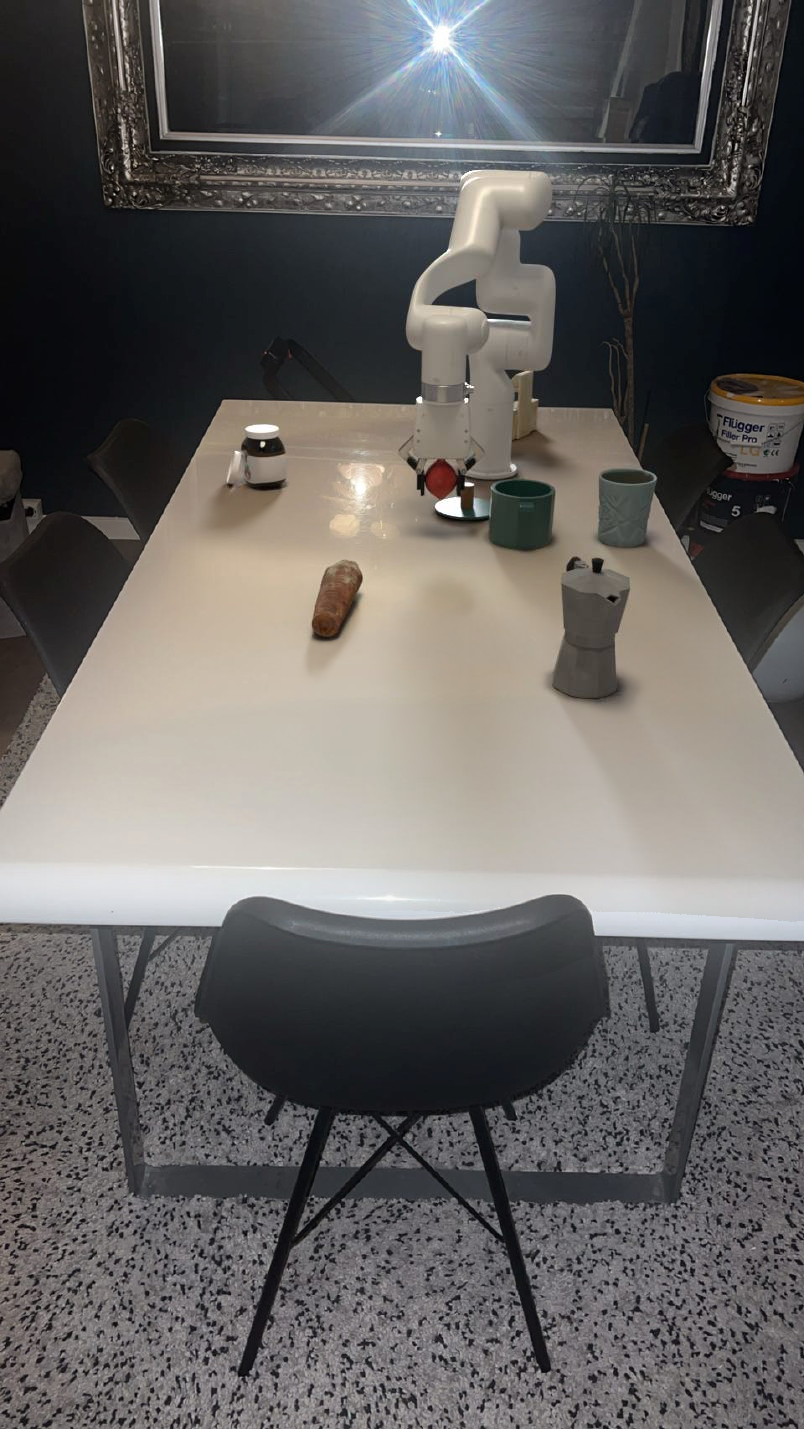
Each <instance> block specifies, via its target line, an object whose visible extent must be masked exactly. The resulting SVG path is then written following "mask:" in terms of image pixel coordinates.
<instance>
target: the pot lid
mask: <svg viewBox="0 0 804 1429" xmlns="http://www.w3.org/2000/svg"><path fill="white" fill-rule="evenodd" d="M434 509H435V512H436V513H437V514H439V515H441V516H443V517H446V518H450V519H455V520H467V521H475V520H484V519H489V515H490V500H488V499H484V498H478V497H475V483H472V482H465V490H461V496H457V497H449V498H446V499H445V498H444V499H442V500H440V501H438V502H437V503H436V504H435V506H434Z"/></svg>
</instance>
